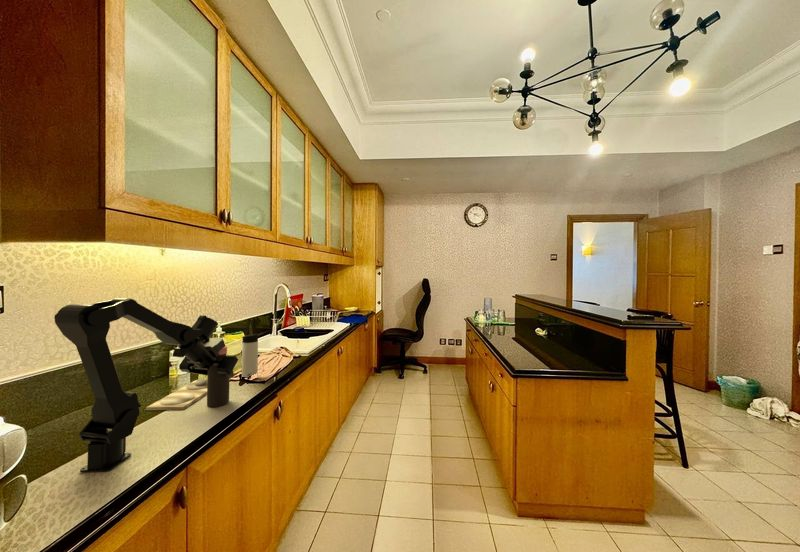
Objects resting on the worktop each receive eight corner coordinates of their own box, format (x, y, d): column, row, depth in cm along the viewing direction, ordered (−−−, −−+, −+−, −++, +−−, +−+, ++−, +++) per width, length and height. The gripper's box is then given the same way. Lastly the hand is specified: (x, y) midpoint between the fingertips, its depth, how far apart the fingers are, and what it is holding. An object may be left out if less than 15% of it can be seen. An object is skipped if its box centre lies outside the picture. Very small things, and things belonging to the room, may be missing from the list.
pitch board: (183, 409, 101) (183, 401, 101) (146, 410, 100) (146, 402, 100) (224, 382, 128) (224, 375, 128) (195, 382, 127) (195, 375, 127)
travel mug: (251, 382, 128) (252, 335, 128) (238, 380, 129) (239, 334, 129) (261, 377, 134) (261, 333, 134) (248, 376, 135) (249, 332, 136)
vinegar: (208, 401, 107) (209, 346, 108) (230, 398, 110) (230, 344, 110) (205, 409, 101) (206, 350, 101) (228, 405, 104) (229, 348, 104)
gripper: (234, 332, 101) (255, 356, 111) (186, 330, 103) (211, 354, 114) (216, 362, 93) (240, 385, 104) (165, 359, 96) (193, 381, 106)
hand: (221, 375), depth 107 cm, fingers open, 9 cm apart
